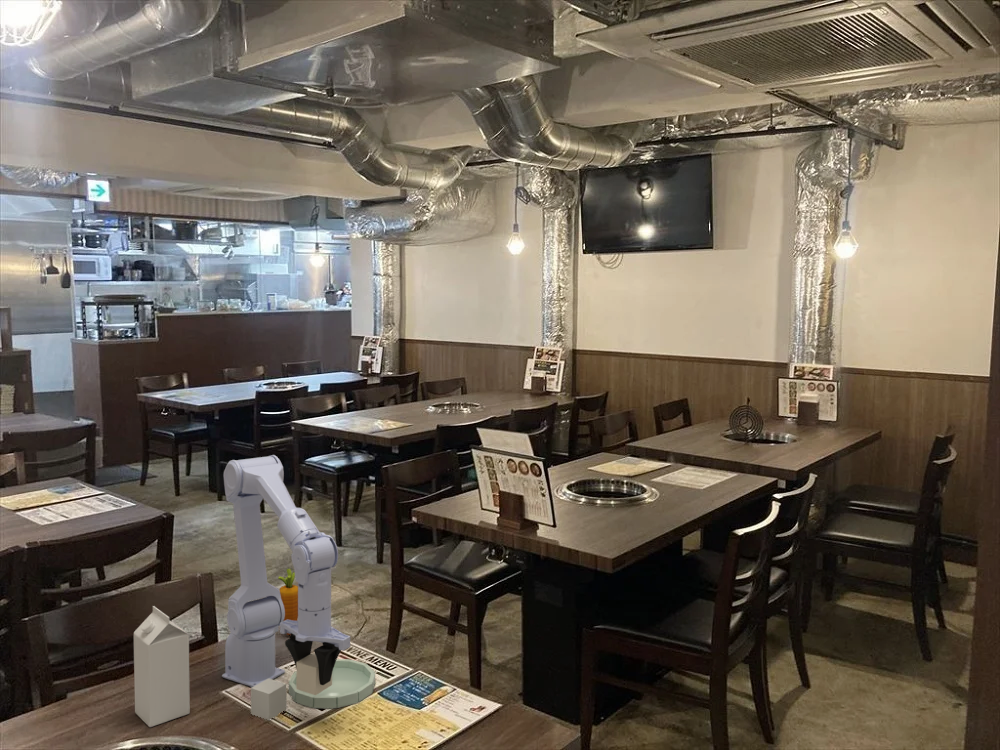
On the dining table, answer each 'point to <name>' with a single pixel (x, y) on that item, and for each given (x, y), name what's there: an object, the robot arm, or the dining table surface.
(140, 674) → the milk carton
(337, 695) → the serving bowl
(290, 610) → the carrot
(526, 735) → the dining table surface
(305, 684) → the beige stone block
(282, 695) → the grey stone block
